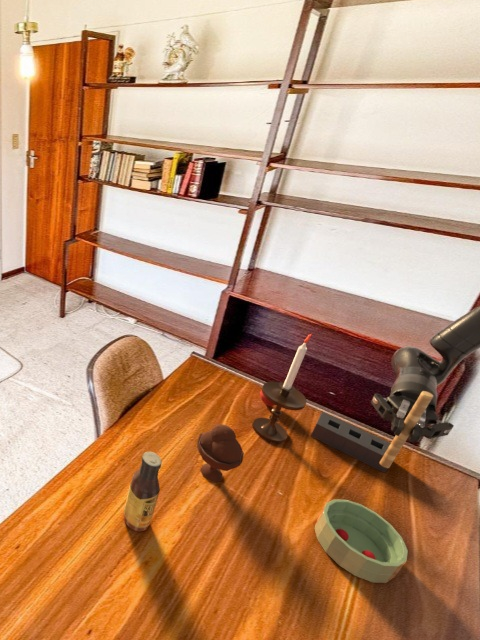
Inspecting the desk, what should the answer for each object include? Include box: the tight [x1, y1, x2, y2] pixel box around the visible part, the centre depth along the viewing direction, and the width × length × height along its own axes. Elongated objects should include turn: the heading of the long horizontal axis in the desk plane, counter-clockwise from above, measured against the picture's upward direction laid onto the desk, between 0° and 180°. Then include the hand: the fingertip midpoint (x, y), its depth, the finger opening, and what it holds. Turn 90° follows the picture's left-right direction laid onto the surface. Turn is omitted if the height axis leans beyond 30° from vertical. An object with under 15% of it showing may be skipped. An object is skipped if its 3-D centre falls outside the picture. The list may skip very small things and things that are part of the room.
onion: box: [259, 389, 276, 407], centre depth 128 cm, size 6×6×8 cm
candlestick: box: [251, 333, 313, 444], centre depth 111 cm, size 11×11×35 cm
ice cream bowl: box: [196, 424, 245, 483], centre depth 102 cm, size 11×11×15 cm
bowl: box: [314, 498, 409, 584], centre depth 87 cm, size 14×14×6 cm
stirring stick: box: [380, 391, 433, 469], centre depth 82 cm, size 2×2×20 cm
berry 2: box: [362, 550, 376, 560], centre depth 85 cm, size 2×2×2 cm
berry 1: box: [336, 529, 349, 541], centre depth 89 cm, size 2×2×2 cm
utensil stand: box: [310, 411, 391, 474], centre depth 114 cm, size 17×7×5 cm, turn 44°
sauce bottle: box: [123, 451, 163, 533], centre depth 88 cm, size 6×6×20 cm
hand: (405, 435), depth 80 cm, fingers closed on stirring stick, 1 cm apart
